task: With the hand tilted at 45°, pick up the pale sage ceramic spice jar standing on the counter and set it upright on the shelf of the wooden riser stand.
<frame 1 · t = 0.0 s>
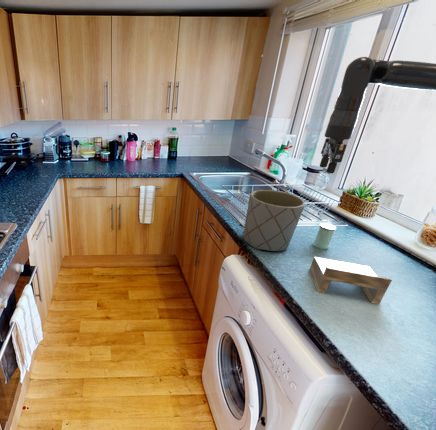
hand: (326, 170, 104), 32 cm above the worktop, tool pointing down, fingers open, 8 cm apart
jar: (320, 245, 117), on the worktop
planter: (264, 242, 119), on the worktop
wooden riser stand: (341, 286, 93), on the worktop
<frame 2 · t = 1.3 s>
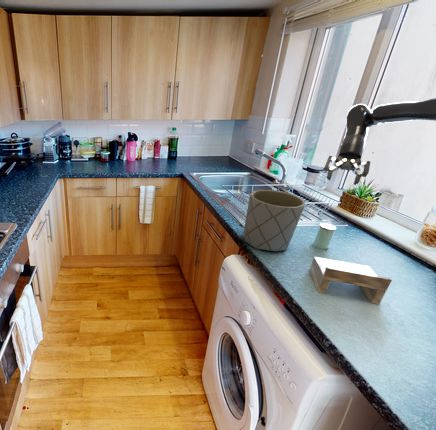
hand: (341, 181, 115), 25 cm above the worktop, tool tilted 45°, fingers open, 8 cm apart
nothing on the worktop moved.
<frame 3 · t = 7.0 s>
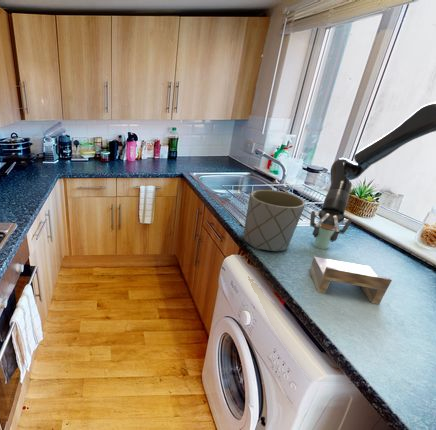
hand: (323, 238, 114), 4 cm above the worktop, tool tilted 45°, fingers closed on jar, 5 cm apart
jar: (320, 245, 117), on the worktop, touching gripper
everything else where it was.
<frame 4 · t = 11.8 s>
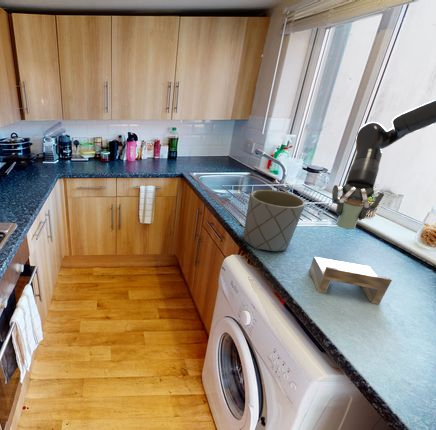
hand: (349, 216, 96), 20 cm above the worktop, tool tilted 45°, fingers closed on jar, 5 cm apart
jar: (345, 225, 99), point 16 cm above the worktop, touching gripper
everything else where it was.
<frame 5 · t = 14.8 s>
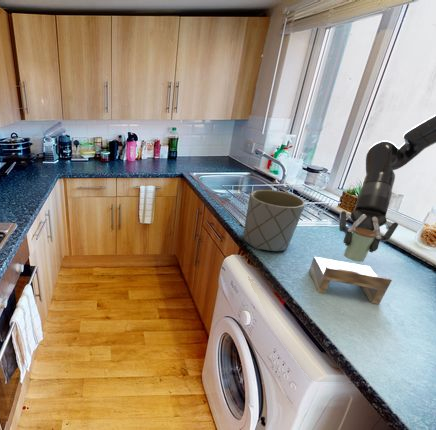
hand: (359, 247, 86), 15 cm above the worktop, tool tilted 45°, fingers closed on jar, 5 cm apart
jar: (353, 257, 89), point 11 cm above the worktop, touching gripper
everything else where it was.
when the fingers open (10 cm above the worktop, at t = 16.8 s): jar stays where it is, resting on wooden riser stand.
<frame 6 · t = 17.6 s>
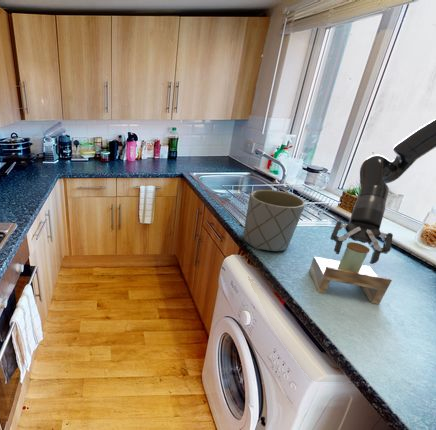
hand: (354, 258, 88), 12 cm above the worktop, tool tilted 45°, fingers open, 8 cm apart
jar: (347, 271, 91), point 6 cm above the worktop, touching wooden riser stand
everything else where it was.
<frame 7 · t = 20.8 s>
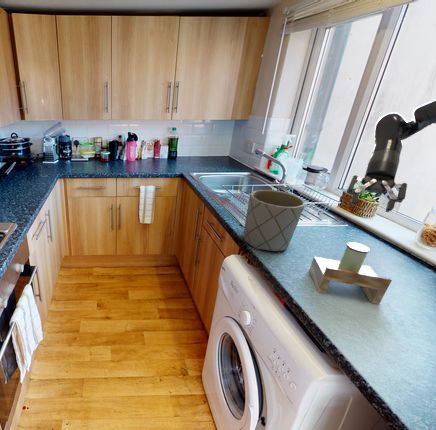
hand: (370, 207, 93), 24 cm above the worktop, tool tilted 45°, fingers open, 8 cm apart
nothing on the worktop moved.
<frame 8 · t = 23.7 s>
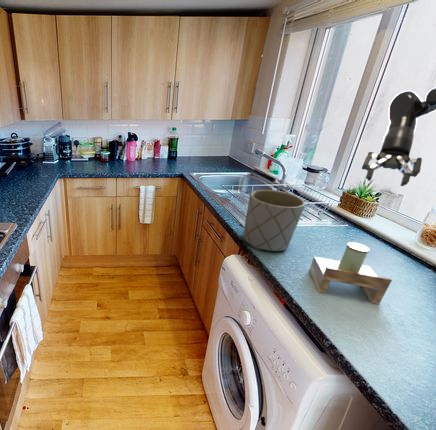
hand: (385, 182, 96), 31 cm above the worktop, tool tilted 45°, fingers open, 8 cm apart
nothing on the worktop moved.
at the end: jar inside the target area on the wooden riser stand (0.0 cm from its centre), point 6.0 cm above the wooden riser stand's base; jar tilted 0° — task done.
